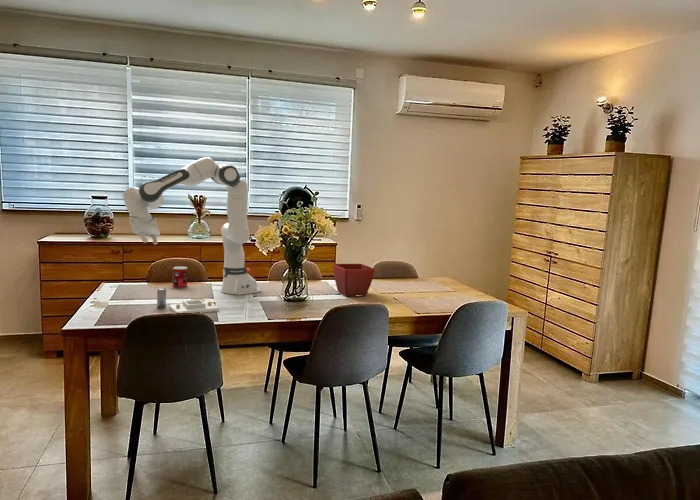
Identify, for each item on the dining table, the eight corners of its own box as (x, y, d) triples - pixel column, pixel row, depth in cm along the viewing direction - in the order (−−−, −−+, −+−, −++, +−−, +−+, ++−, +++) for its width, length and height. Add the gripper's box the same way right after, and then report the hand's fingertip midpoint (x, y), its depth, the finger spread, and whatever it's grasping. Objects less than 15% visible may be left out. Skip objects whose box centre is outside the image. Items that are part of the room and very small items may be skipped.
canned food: (171, 285, 285) (171, 266, 284) (185, 284, 289) (185, 266, 288) (174, 288, 279) (174, 268, 277) (188, 287, 283) (188, 268, 281)
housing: (209, 304, 249) (210, 297, 248) (219, 310, 237) (219, 303, 237) (169, 307, 238) (169, 300, 237) (176, 315, 226) (176, 307, 226)
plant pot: (359, 290, 303) (361, 263, 300) (373, 297, 286) (375, 268, 283) (330, 291, 294) (332, 263, 292) (344, 298, 277) (345, 269, 275)
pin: (164, 306, 240) (165, 288, 239) (166, 307, 237) (167, 289, 236) (156, 306, 238) (156, 288, 237) (158, 308, 235) (158, 290, 234)
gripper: (134, 211, 234) (145, 237, 232) (156, 218, 254) (166, 242, 252) (123, 217, 235) (133, 243, 233) (146, 223, 255) (156, 247, 253)
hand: (150, 243), depth 243 cm, fingers open, 8 cm apart
